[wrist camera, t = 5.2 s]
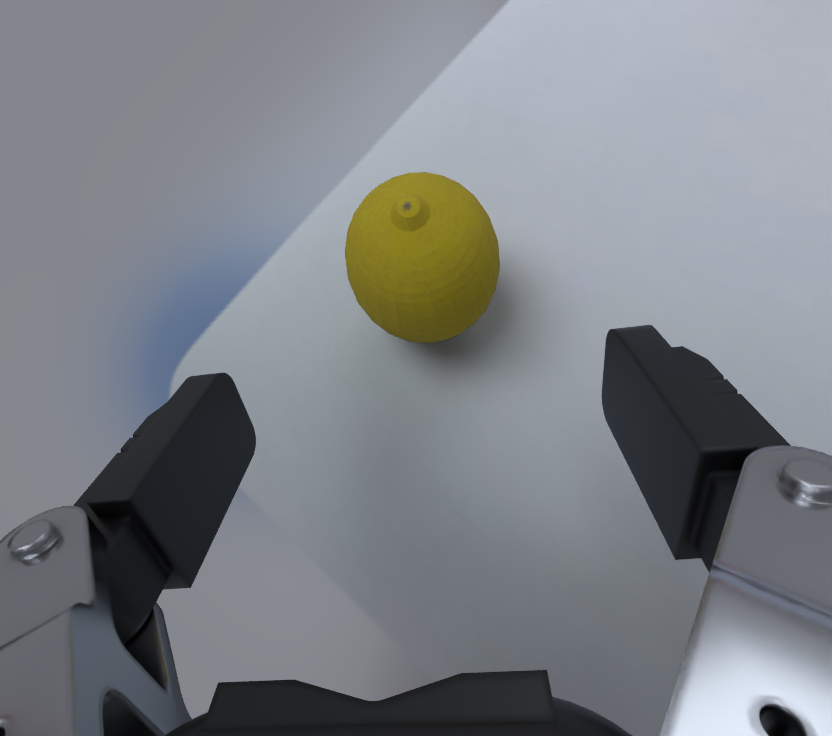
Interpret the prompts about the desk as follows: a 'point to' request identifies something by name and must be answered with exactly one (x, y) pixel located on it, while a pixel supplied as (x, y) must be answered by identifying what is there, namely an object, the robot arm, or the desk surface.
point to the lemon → (422, 257)
